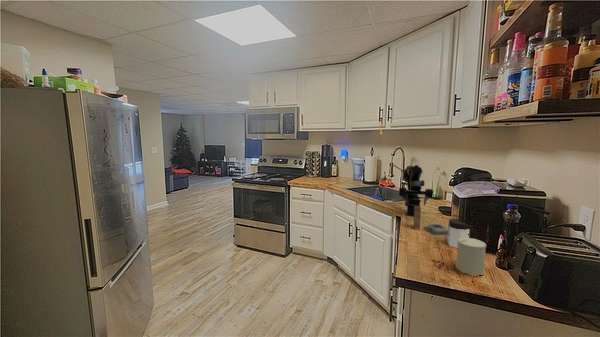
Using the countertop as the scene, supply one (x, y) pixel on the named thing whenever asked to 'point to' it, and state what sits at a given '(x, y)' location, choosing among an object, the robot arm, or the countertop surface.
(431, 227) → the square frame on plate
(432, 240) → the countertop surface
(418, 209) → the walnut stick
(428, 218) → the countertop surface
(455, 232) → the jar
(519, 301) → the countertop surface
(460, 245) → the can
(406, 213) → the robot arm
